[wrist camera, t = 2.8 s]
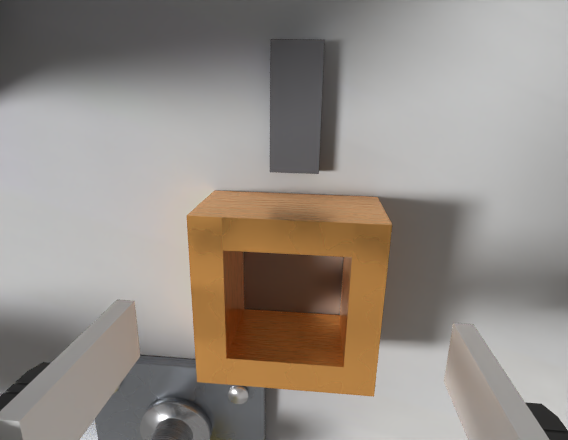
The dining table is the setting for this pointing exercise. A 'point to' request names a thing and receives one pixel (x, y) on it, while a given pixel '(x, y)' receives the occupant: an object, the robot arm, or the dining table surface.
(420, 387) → the dining table surface
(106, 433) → the keeper
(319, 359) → the square wooden frame
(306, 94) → the grey rectangular block
